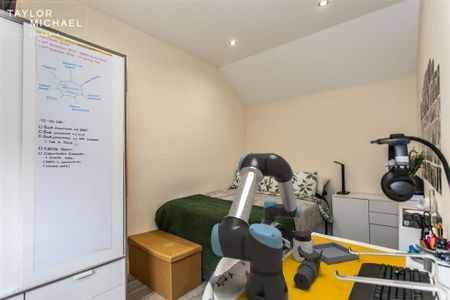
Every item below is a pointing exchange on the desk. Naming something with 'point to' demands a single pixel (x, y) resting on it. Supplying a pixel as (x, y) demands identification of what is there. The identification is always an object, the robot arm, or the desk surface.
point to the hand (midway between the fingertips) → (301, 243)
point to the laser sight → (307, 268)
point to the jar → (304, 241)
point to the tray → (333, 253)
